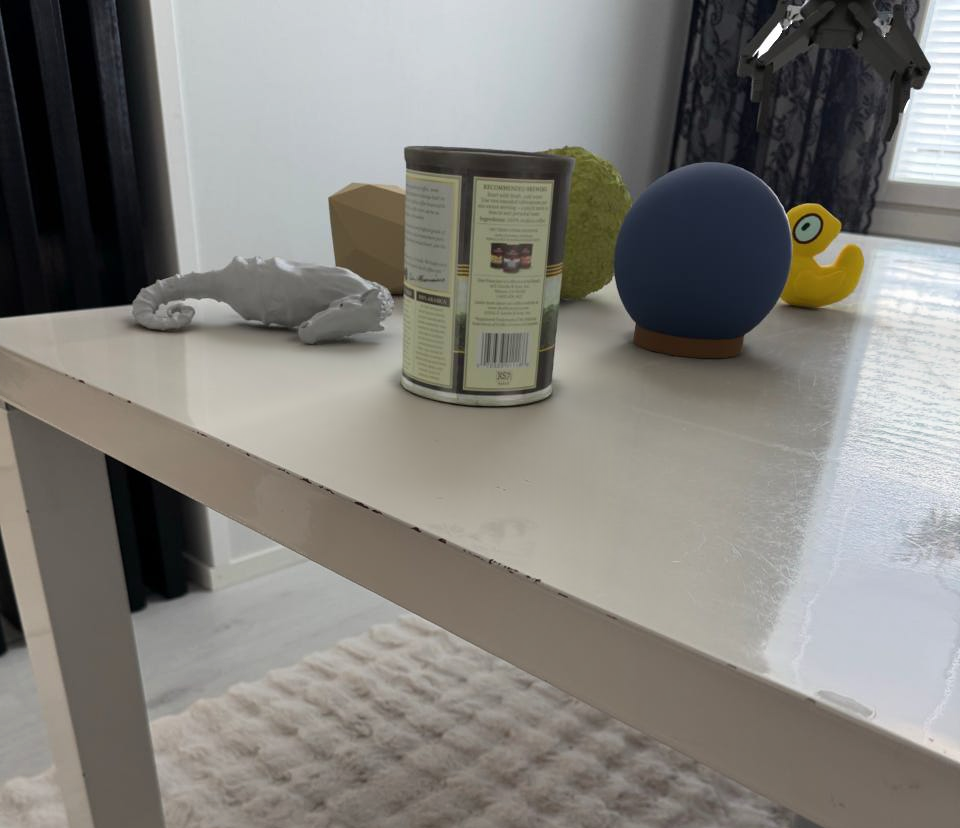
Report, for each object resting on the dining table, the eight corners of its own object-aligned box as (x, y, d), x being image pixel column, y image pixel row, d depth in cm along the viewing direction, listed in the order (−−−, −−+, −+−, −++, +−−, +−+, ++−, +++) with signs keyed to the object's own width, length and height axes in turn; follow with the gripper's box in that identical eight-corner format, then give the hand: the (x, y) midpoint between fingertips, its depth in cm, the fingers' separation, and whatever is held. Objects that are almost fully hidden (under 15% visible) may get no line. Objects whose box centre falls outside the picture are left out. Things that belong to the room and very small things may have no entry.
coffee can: (476, 361, 70) (490, 146, 64) (583, 393, 64) (611, 159, 57) (366, 378, 64) (368, 141, 57) (473, 416, 58) (490, 155, 51)
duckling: (746, 304, 101) (765, 201, 96) (742, 296, 106) (761, 197, 101) (856, 315, 100) (882, 210, 95) (848, 306, 105) (872, 206, 100)
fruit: (440, 292, 95) (452, 142, 96) (530, 334, 106) (541, 199, 106) (572, 258, 85) (585, 89, 85) (656, 309, 95) (668, 159, 95)
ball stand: (765, 340, 86) (801, 166, 79) (778, 375, 73) (821, 173, 67) (609, 324, 87) (631, 153, 81) (596, 356, 75) (620, 157, 69)
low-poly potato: (297, 289, 94) (322, 245, 83) (317, 183, 94) (345, 126, 84) (438, 334, 99) (480, 299, 89) (457, 234, 100) (500, 186, 89)
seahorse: (117, 326, 68) (397, 294, 70) (125, 246, 75) (378, 219, 77) (139, 388, 72) (403, 355, 74) (144, 306, 79) (384, 278, 81)
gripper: (943, 14, 111) (932, 162, 106) (726, 1, 115) (704, 144, 109) (969, -49, 104) (959, 107, 98) (736, -60, 107) (714, 89, 102)
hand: (825, 127), depth 104 cm, fingers open, 13 cm apart
